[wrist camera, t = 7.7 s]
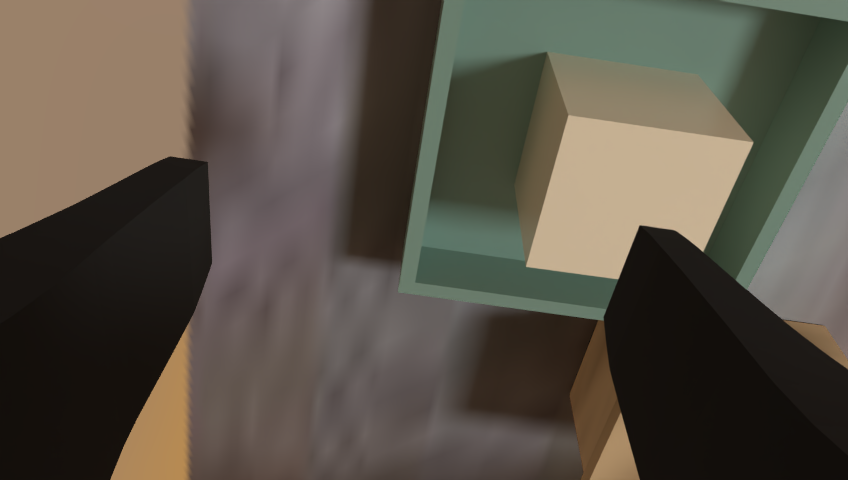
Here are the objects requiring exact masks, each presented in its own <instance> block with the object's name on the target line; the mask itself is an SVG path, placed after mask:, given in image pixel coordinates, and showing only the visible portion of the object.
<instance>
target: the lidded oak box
mask: <svg viewBox="0 0 848 480" xmlns="http://www.w3.org/2000/svg"><path fill="white" fill-rule="evenodd" d="M783 321H785V322H786V323H787V324H788V325H790V326H791V327H792V328H793V329H795V330H796V331H797V332H799V333H800V334H801V335H802V336H804V337H805V338H806V339H808V340H809V341H810V342H812V343H813V344H814V345H815V346H817V347H818V348H819V349H821V350H822V351H823V352H825V353H826V354H827V355H829V356H830V357H832V358H833V359H834V360H836V361H837V362H838V363H840V364H841V365H843V366H844V367H846V368H847V369H848V360H847V358H846V357H845V355H844V354H843V352H842V351H841V349H840V348H839V346H838V345H837V343H836V342H835V341H834V339H833V338H832V336H831V335H830V333H829V332H828V330H827V329H826V327H825V326H822V325H815V324H808V323H801V322H793V321H786V320H783ZM569 396H570V401H571V406H572V412H573V417H574V423H575V428H576V434H577V439H578V444H579V450H580V455H581V461H582V466H583V472H584V473H583V475H582V477H581V479H580V480H640V479H639V475H638V472H637V468H636V464H635V461H634V457H633V454H632V450H631V446H630V443H629V439H628V436H627V432H626V428H625V425H624V421H623V418H622V414H621V410H620V407H619V403H618V399H617V395H616V392H615V388H614V384H613V380H612V376H611V372H610V368H609V361H608V354H607V347H606V337H605V328H604V321H602V320H598V322H597V325H596V327H595V330H594V332H593V335H592V338H591V340H590V343H589V345H588V348H587V350H586V353H585V356H584V358H583V361H582V363H581V366H580V369H579V371H578V374H577V376H576V379H575V381H574V384H573V387H572V389H571V392H570V394H569Z"/></svg>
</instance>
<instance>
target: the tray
mask: <svg viewBox="0 0 848 480" xmlns="http://www.w3.org/2000/svg"><path fill="white" fill-rule="evenodd" d="M547 52H552V53H559V54H566V55H572V56H579V57H586V58H592V59H599V60H606V61H612V62H619V63H625V64H632V65H639V66H645V67H652V68H659V69H665V70H672V71H679V72H685V73H692V74H698V75H699V77H700V78H701V79H702V80H703V81H704V83H705V84H706V85H707V86H708V87H709V89H710V90H711V91H712V92H713V94H714V95H715V96H716V97H717V98H718V100H719V101H720V102H721V103H722V104H723V106H724V107H725V108H726V109H727V111H728V112H729V113H730V114H731V115H732V117H733V118H734V119H735V120H736V121H737V123H738V124H739V125H740V126H741V128H742V129H743V130H744V131H745V132H746V134H747V135H748V136H749V137H750V138H751V140H752V141H753V142H754V143H753V145H752V147H751V149H750V151H749V154H748V156H747V158H746V160H745V162H744V164H743V167H742V169H741V171H740V173H739V175H738V177H737V180H736V182H735V184H734V186H733V188H732V190H731V193H730V195H729V197H728V199H727V201H726V204H725V206H724V208H723V210H722V212H721V214H720V217H719V219H718V221H717V223H716V225H715V227H714V230H713V232H712V234H711V236H710V238H709V240H708V243H707V245H706V247H705V249H704V251H703V252H704V253H705V254H706V255H707V256H708V257H710V258H711V259H712V260H713V261H714V262H715V263H717V264H718V265H719V266H720V267H721V268H722V269H723V270H725V271H726V272H727V273H728V274H729V275H730V276H731V277H733V278H734V279H735V280H736V281H737V282H738V283H739V284H741V285H742V286H743V287H744V288H745V289H746V290H747V288H748V287H749V285H750V283H751V281H752V279H753V277H754V275H755V274H756V272H757V270H758V268H759V266H760V264H761V262H762V261H763V259H764V257H765V255H766V253H767V251H768V249H769V248H770V246H771V244H772V242H773V240H774V238H775V236H776V234H777V233H778V231H779V229H780V227H781V225H782V223H783V221H784V220H785V218H786V216H787V214H788V212H789V210H790V208H791V207H792V205H793V203H794V201H795V199H796V197H797V195H798V193H799V192H800V190H801V188H802V186H803V184H804V182H805V180H806V179H807V177H808V175H809V173H810V171H811V169H812V167H813V166H814V164H815V162H816V160H817V158H818V156H819V154H820V153H821V151H822V149H823V147H824V145H825V143H826V141H827V139H828V138H829V136H830V134H831V132H832V130H833V128H834V126H835V125H836V123H837V121H838V119H839V117H840V115H841V113H842V112H843V110H844V108H845V106H846V104H847V102H848V0H442V2H441V9H440V15H439V21H438V28H437V34H436V41H435V47H434V53H433V60H432V66H431V73H430V79H429V85H428V92H427V98H426V105H425V111H424V117H423V124H422V130H421V137H420V143H419V149H418V156H417V162H416V169H415V175H414V182H413V188H412V194H411V201H410V207H409V214H408V220H407V226H406V233H405V239H404V246H403V253H402V262H401V271H400V279H399V288H398V292H400V293H407V294H414V295H422V296H429V297H436V298H443V299H450V300H458V301H465V302H472V303H479V304H486V305H494V306H501V307H508V308H515V309H523V310H530V311H537V312H544V313H551V314H559V315H566V316H573V317H580V318H587V319H595V320H602V321H604V318H603V317H604V314H605V312H606V309H607V307H608V304H609V302H610V299H611V297H612V294H613V292H614V289H615V286H616V284H617V281H618V279H612V278H605V277H597V276H590V275H582V274H575V273H568V272H560V271H553V270H546V269H538V268H531V267H526V264H525V257H524V250H523V243H522V236H521V229H520V222H519V215H518V208H517V201H516V194H515V187H514V184H515V180H516V176H517V172H518V168H519V164H520V160H521V156H522V152H523V148H524V144H525V140H526V136H527V131H528V127H529V123H530V119H531V115H532V111H533V107H534V103H535V99H536V95H537V91H538V87H539V83H540V79H541V75H542V71H543V67H544V63H545V58H546V54H547Z"/></svg>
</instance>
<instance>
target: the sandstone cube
mask: <svg viewBox="0 0 848 480" xmlns="http://www.w3.org/2000/svg"><path fill="white" fill-rule="evenodd" d="M753 143H754V142H753V141H752V140H751V138H750V137H749V136H748V135H747V134H746V132H745V131H744V130H743V129H742V128H741V126H740V125H739V124H738V123H737V121H736V120H735V119H734V118H733V117H732V115H731V114H730V113H729V112H728V111H727V109H726V108H725V107H724V106H723V104H722V103H721V102H720V101H719V100H718V98H717V97H716V96H715V95H714V94H713V92H712V91H711V90H710V89H709V87H708V86H707V85H706V84H705V83H704V81H703V80H702V79H701V78H700V77H699V75H698V74H692V73H685V72H679V71H672V70H665V69H659V68H652V67H645V66H639V65H632V64H625V63H619V62H612V61H606V60H599V59H592V58H586V57H579V56H572V55H566V54H559V53H552V52H547V54H546V58H545V63H544V67H543V71H542V75H541V79H540V83H539V87H538V91H537V95H536V99H535V103H534V107H533V111H532V115H531V119H530V123H529V127H528V131H527V136H526V140H525V144H524V148H523V152H522V156H521V160H520V164H519V168H518V172H517V176H516V180H515V184H514V187H515V194H516V201H517V208H518V215H519V222H520V229H521V236H522V243H523V250H524V257H525V264H526V267H531V268H538V269H546V270H553V271H560V272H568V273H575V274H582V275H590V276H597V277H605V278H612V279H619V276H620V274H621V271H622V269H623V266H624V264H625V261H626V258H627V256H628V253H629V251H630V248H631V246H632V243H633V241H634V238H635V236H636V233H637V230H638V228H639V225H642V226H649V227H656V228H663V229H670V230H675V231H677V232H678V233H680V234H681V235H683V236H684V237H685V238H687V239H688V240H689V241H690V242H692V243H693V244H694V245H695V246H697V247H698V248H699V249H700V250H701V251H704V249H705V247H706V245H707V243H708V240H709V238H710V236H711V234H712V232H713V230H714V227H715V225H716V223H717V221H718V219H719V217H720V214H721V212H722V210H723V208H724V206H725V204H726V201H727V199H728V197H729V195H730V193H731V190H732V188H733V186H734V184H735V182H736V180H737V177H738V175H739V173H740V171H741V169H742V167H743V164H744V162H745V160H746V158H747V156H748V154H749V151H750V149H751V147H752V145H753Z"/></svg>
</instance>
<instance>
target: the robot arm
mask: <svg viewBox="0 0 848 480" xmlns="http://www.w3.org/2000/svg"><path fill="white" fill-rule="evenodd" d="M211 264H212V251H211V228H210V205H209V182H208V162H204V161H197V160H191V159H184V158H176V157H168V158H165V159H163V160H160V161H158V162H156V163H154V164H152V165H150V166H148V167H146V168H144V169H142V170H140V171H138V172H136V173H134V174H132V175H131V176H129V177H127V178H125V179H123V180H121V181H119V182H117V183H116V184H113V185H111V186H110V187H108V188H106V189H104V190H102V191H100V192H98V193H96V194H94V195H92V196H90V197H88V198H86V199H84V200H82V201H80V202H79V203H76V204H74V205H73V206H70V207H68V208H66V209H64V210H62V211H59V212H57V213H55V214H53V215H51V216H49V217H47V218H44V219H42V220H40V221H38V222H35V223H33V224H31V225H29V226H27V227H25V228H22V229H20V230H18V231H16V232H14V233H11V234H9V235H6V236H4V237H2V238H0V480H110V479H111V476H112V474H113V471H114V469H115V466H116V464H117V461H118V459H119V456H120V454H121V451H122V449H123V447H124V444H125V442H126V440H127V438H128V436H129V434H130V432H131V430H132V428H133V426H134V424H135V421H136V420H137V418H138V416H139V414H140V412H141V410H142V409H143V406H144V405H145V403H146V401H147V399H148V397H149V396H150V394H151V392H152V390H153V388H154V386H155V385H156V383H157V381H158V379H159V377H160V375H161V373H162V371H163V370H164V368H165V366H166V364H167V362H168V360H169V359H170V357H171V355H172V353H173V351H174V349H175V348H176V345H177V344H178V342H179V340H180V338H181V336H182V334H183V333H184V331H185V329H186V327H187V325H188V323H189V321H190V319H191V317H192V315H193V313H194V311H195V309H196V306H197V303H198V301H199V298H200V295H201V293H202V290H203V287H204V284H205V281H206V279H207V276H208V273H209V270H210V267H211ZM603 318H604V328H605V337H606V347H607V354H608V361H609V368H610V372H611V376H612V380H613V384H614V388H615V392H616V395H617V399H618V403H619V407H620V410H621V414H622V418H623V421H624V425H625V428H626V432H627V436H628V439H629V443H630V446H631V450H632V454H633V457H634V461H635V464H636V468H637V472H638V475H639V479H640V480H848V369H847V368H846V367H844V366H843V365H841V364H840V363H838V362H837V361H836V360H834V359H833V358H832V357H830V356H829V355H827V354H826V353H825V352H823V351H822V350H821V349H819V348H818V347H817V346H815V345H814V344H813V343H812V342H810V341H809V340H808V339H806V338H805V337H804V336H802V335H801V334H800V333H799V332H797V331H796V330H795V329H793V328H792V327H791V326H790V325H788V324H787V323H786V322H785V321H783V320H782V319H781V318H780V317H778V316H777V315H776V314H775V313H774V312H772V311H771V310H770V309H769V308H768V307H766V306H765V305H764V304H763V303H762V302H760V301H759V300H758V299H757V298H756V297H755V296H753V295H752V294H751V293H750V292H749V291H748V290H746V289H745V288H744V287H743V286H742V285H741V284H739V283H738V282H737V281H736V280H735V279H734V278H733V277H731V276H730V275H729V274H728V273H727V272H726V271H725V270H723V269H722V268H721V267H720V266H719V265H718V264H717V263H715V262H714V261H713V260H712V259H711V258H710V257H708V256H707V255H706V254H705V253H704V252H703V251H701V250H700V249H699V248H698V247H697V246H695V245H694V244H693V243H692V242H690V241H689V240H688V239H687V238H685V237H684V236H683V235H681V234H680V233H678V232H677V231H675V230H670V229H663V228H656V227H649V226H642V225H639V228H638V230H637V233H636V236H635V238H634V241H633V243H632V246H631V248H630V251H629V253H628V256H627V258H626V261H625V264H624V266H623V269H622V271H621V274H620V276H619V279H618V281H617V284H616V286H615V289H614V292H613V294H612V297H611V299H610V302H609V304H608V307H607V309H606V312H605V314H604V317H603Z"/></svg>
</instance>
